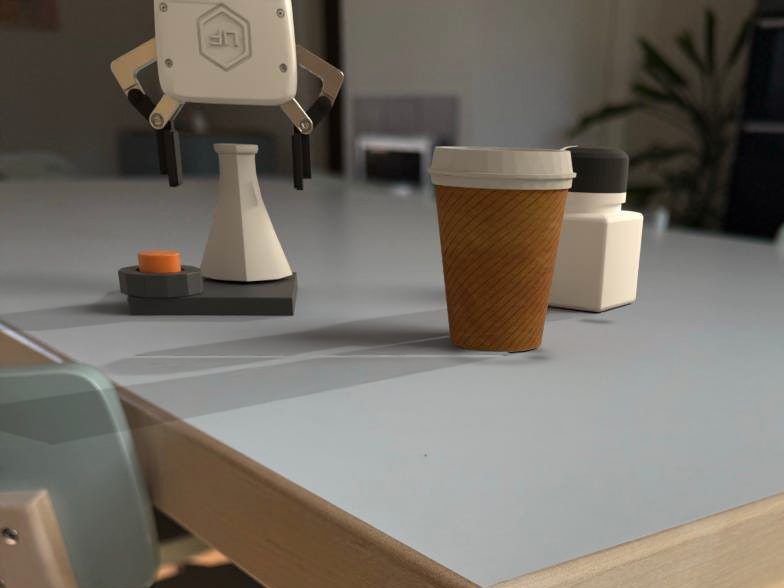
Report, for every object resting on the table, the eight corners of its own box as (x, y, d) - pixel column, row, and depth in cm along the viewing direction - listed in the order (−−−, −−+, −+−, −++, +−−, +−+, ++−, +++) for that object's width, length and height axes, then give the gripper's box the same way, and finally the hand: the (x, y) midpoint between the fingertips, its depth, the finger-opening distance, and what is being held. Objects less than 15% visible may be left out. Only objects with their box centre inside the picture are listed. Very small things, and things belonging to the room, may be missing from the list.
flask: (247, 287, 78) (236, 145, 73) (182, 278, 81) (168, 142, 76) (308, 278, 83) (301, 145, 79) (244, 269, 87) (235, 142, 82)
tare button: (136, 277, 73) (133, 255, 72) (143, 271, 75) (140, 250, 75) (178, 277, 73) (176, 255, 72) (183, 272, 76) (181, 250, 75)
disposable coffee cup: (398, 341, 67) (396, 145, 62) (491, 325, 74) (497, 146, 68) (501, 364, 62) (509, 151, 56) (592, 345, 68) (608, 152, 63)
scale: (118, 317, 73) (112, 274, 71) (148, 287, 85) (143, 250, 84) (293, 318, 74) (291, 276, 73) (297, 288, 87) (295, 252, 85)
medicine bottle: (636, 302, 85) (651, 147, 79) (599, 313, 80) (613, 147, 74) (563, 294, 88) (573, 144, 83) (523, 303, 83) (531, 144, 77)
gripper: (82, -91, 67) (117, 187, 74) (340, -74, 69) (347, 193, 77) (104, -72, 73) (134, 182, 81) (339, -58, 75) (345, 187, 83)
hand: (238, 187), depth 79 cm, fingers open, 9 cm apart
